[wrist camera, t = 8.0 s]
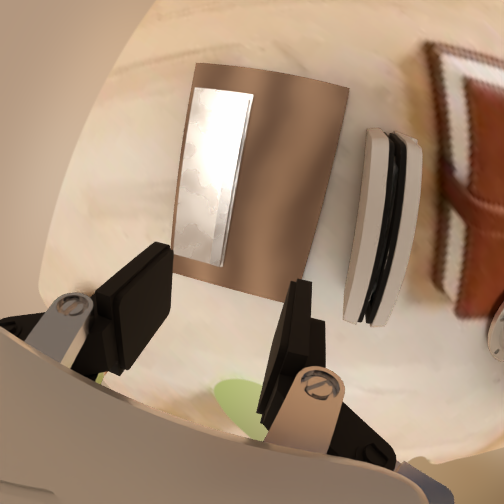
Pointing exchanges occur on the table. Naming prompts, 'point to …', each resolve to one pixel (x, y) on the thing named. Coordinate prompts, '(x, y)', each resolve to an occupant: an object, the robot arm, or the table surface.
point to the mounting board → (272, 177)
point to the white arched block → (383, 226)
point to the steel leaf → (210, 173)
